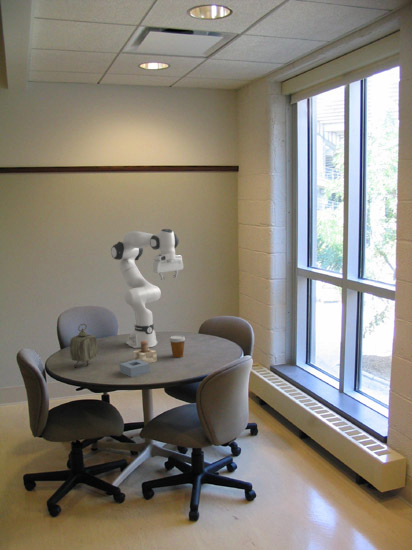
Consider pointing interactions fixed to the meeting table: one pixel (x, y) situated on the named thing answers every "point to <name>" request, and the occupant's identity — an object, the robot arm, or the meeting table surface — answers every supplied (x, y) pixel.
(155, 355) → the mount
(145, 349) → the pin
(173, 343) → the disposable coffee cup
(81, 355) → the tabletop clock
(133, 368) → the socket
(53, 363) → the meeting table surface
